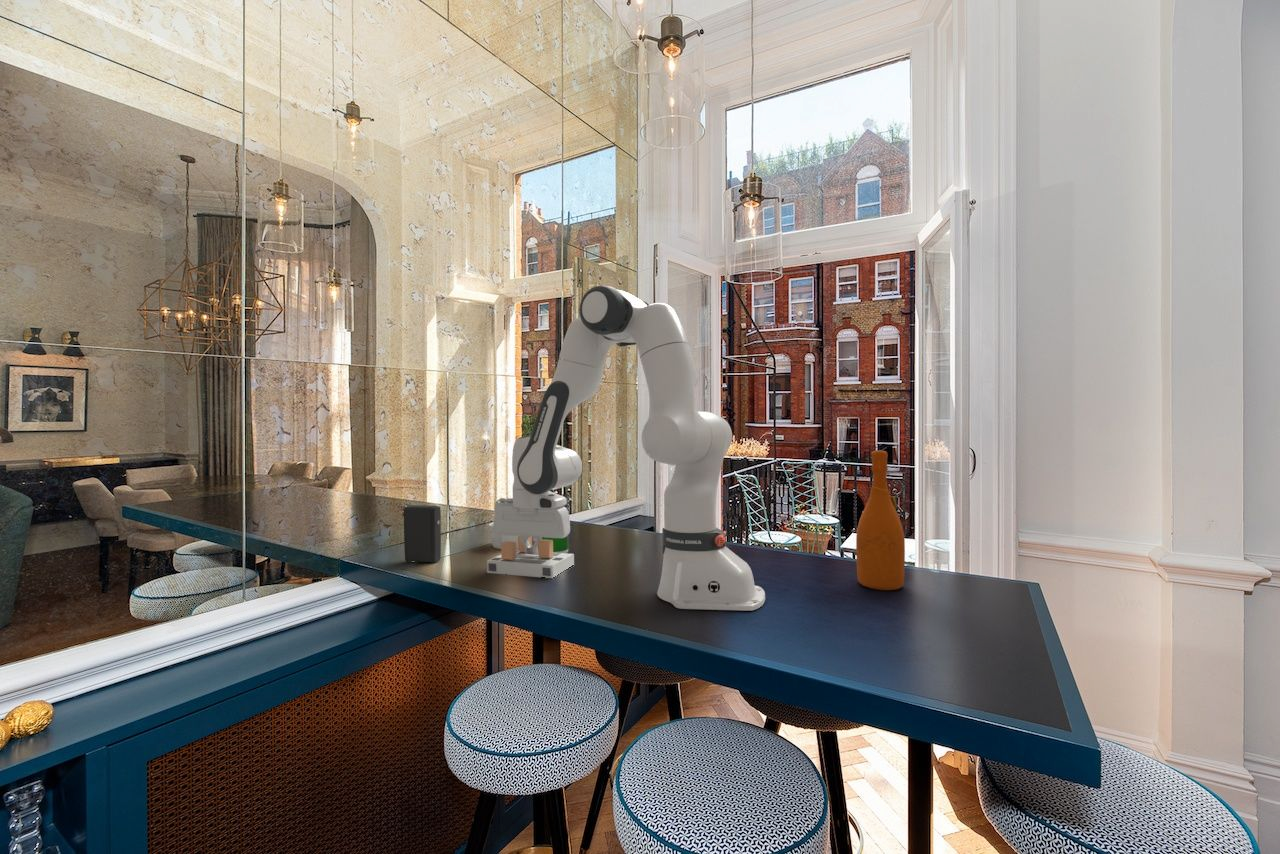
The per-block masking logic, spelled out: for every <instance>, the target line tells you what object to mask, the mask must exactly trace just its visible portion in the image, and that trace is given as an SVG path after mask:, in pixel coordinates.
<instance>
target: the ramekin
mask: <svg viewBox="0 0 1280 854" xmlns="http://www.w3.org/2000/svg"><path fill="white" fill-rule="evenodd" d="M493 523H494V521H493V522H490V523H489V524H488V530H489V537H490V543H491V546H492V547H493V549H496V550H501V543H502V542H505V541H511V542H516V550H518V536H511V535H496V534H495V532H494V531H493Z"/></svg>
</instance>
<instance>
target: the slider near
mask: <svg viewBox="0 0 1280 854" xmlns="http://www.w3.org/2000/svg"><path fill="white" fill-rule="evenodd" d="M516 550H517V549H516V542H511V541H505V542H502V543H501V549H500V551H501V553H500V555H501V559H507V560H513V559H515V558H516Z"/></svg>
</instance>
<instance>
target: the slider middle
mask: <svg viewBox="0 0 1280 854" xmlns="http://www.w3.org/2000/svg"><path fill="white" fill-rule="evenodd" d="M538 551H539V557H541V558H551V557H553V540H540V541H538Z"/></svg>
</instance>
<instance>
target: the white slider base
mask: <svg viewBox="0 0 1280 854" xmlns="http://www.w3.org/2000/svg"><path fill="white" fill-rule="evenodd" d="M572 565H574V566H575V554H574V553H568V552H567V553H553V557H551V558H541V557H539V550H538V553H537V554H535V555H534V554H525V552H518V549H516V558H515V559H513V560H507V559H501V554H499V555H497V556H494V557H493V558H490V559H488V560H486V573H487V574H494V575H495V574H496V575H506V574H507V576H518V577H519V576H520V577H532V578H541V577H545V578H544V579H554V578H553V577H555V576H556V577H558V576H559V575H561V574H562V573H561V572H563V571H564V570H566V569H568V568H569V567H571V566H572ZM571 568H572V567H571ZM569 569H570V568H569ZM569 569H568V570H569ZM566 571H567V570H566ZM564 572H565V571H564ZM564 572H563V573H564ZM560 573H561V574H560ZM558 574H559V575H558ZM557 575H558V576H557ZM556 577H555V578H556Z"/></svg>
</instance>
